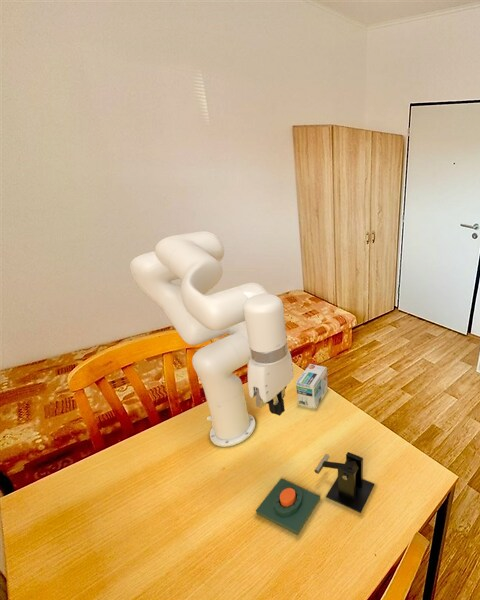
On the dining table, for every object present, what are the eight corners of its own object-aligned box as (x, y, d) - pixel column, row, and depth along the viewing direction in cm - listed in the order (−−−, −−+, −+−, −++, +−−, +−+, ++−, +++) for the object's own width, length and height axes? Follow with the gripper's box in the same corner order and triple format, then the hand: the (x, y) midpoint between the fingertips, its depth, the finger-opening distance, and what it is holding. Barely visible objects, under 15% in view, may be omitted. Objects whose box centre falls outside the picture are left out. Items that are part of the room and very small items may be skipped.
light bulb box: (315, 410, 108) (314, 386, 103) (297, 406, 109) (294, 382, 104) (328, 389, 117) (327, 366, 113) (311, 386, 118) (309, 363, 114)
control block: (256, 515, 77) (254, 505, 75) (281, 483, 84) (280, 473, 83) (298, 537, 73) (296, 527, 71) (320, 501, 81) (319, 491, 79)
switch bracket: (326, 499, 81) (324, 468, 76) (342, 472, 88) (341, 443, 83) (360, 515, 78) (361, 484, 73) (374, 486, 85) (375, 456, 80)
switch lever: (316, 474, 81) (312, 467, 81) (326, 459, 85) (323, 452, 85) (351, 480, 76) (348, 473, 76) (361, 463, 81) (358, 456, 80)
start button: (277, 503, 76) (276, 498, 75) (287, 490, 79) (286, 485, 78) (289, 509, 75) (288, 504, 74) (299, 495, 78) (298, 491, 77)
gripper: (278, 329, 76) (285, 387, 84) (227, 363, 64) (241, 428, 72) (304, 337, 74) (308, 396, 82) (257, 374, 61) (267, 440, 70)
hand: (277, 411), depth 77 cm, fingers closed
